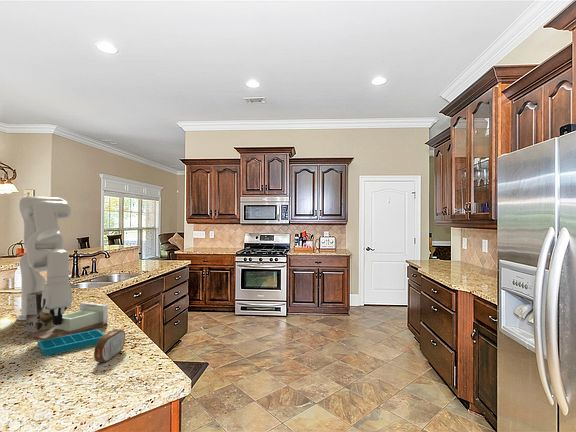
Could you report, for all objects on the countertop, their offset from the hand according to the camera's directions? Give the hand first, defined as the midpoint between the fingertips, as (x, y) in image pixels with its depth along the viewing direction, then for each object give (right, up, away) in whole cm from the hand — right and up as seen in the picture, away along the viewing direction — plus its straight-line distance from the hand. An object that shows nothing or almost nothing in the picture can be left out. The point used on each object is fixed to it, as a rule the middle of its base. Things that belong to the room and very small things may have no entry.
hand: (57, 324), depth 137 cm
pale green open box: (+3, -3, +8) cm, 9 cm away
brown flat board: (+2, -4, +4) cm, 6 cm away
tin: (+35, -4, -24) cm, 43 cm away
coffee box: (-12, -5, +7) cm, 15 cm away
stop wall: (+6, -3, +15) cm, 16 cm away
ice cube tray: (+15, -4, -13) cm, 21 cm away
